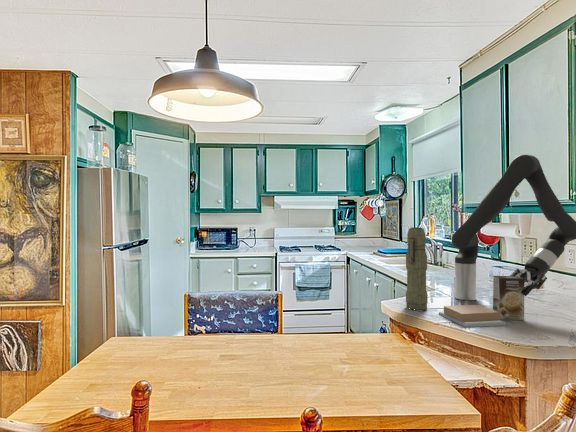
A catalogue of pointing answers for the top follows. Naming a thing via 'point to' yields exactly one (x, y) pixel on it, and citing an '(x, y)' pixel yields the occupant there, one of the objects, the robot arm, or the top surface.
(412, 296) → the thermos
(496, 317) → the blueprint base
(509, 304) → the coffee box
